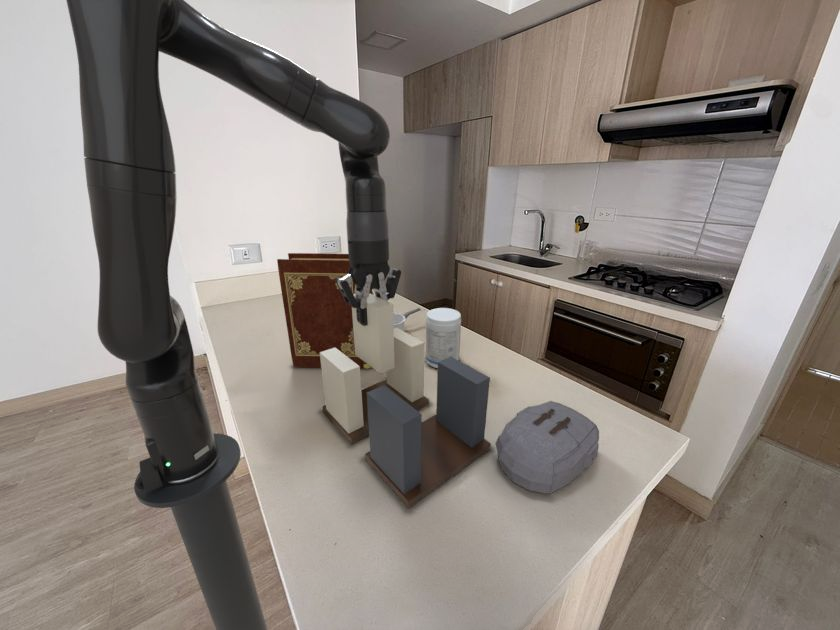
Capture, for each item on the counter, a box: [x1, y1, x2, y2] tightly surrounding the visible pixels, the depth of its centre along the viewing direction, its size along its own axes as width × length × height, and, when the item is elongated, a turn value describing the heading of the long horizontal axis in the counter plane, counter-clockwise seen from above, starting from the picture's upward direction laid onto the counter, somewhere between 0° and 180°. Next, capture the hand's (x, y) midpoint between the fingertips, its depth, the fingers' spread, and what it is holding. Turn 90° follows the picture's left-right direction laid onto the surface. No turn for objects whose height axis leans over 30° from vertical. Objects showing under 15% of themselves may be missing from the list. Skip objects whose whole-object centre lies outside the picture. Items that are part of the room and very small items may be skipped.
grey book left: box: [367, 385, 422, 494], centre depth 56 cm, size 4×10×14 cm, turn 40°
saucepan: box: [393, 307, 422, 332], centre depth 115 cm, size 12×20×6 cm, turn 133°
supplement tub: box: [425, 307, 462, 369], centre depth 94 cm, size 10×10×15 cm
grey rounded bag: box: [495, 400, 600, 494], centre depth 62 cm, size 15×8×20 cm
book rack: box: [321, 378, 492, 509], centre depth 70 cm, size 20×31×2 cm, turn 40°
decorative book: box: [276, 252, 375, 370], centre depth 91 cm, size 22×8×30 cm, turn 89°
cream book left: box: [320, 348, 364, 434], centre depth 69 cm, size 4×10×14 cm, turn 40°
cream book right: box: [386, 328, 425, 402], centre depth 79 cm, size 4×10×14 cm, turn 40°
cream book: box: [352, 293, 395, 374], centre depth 70 cm, size 4×10×14 cm, turn 40°
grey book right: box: [435, 357, 491, 447], centre depth 66 cm, size 4×10×14 cm, turn 40°
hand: (372, 321), depth 69 cm, fingers closed on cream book, 3 cm apart
